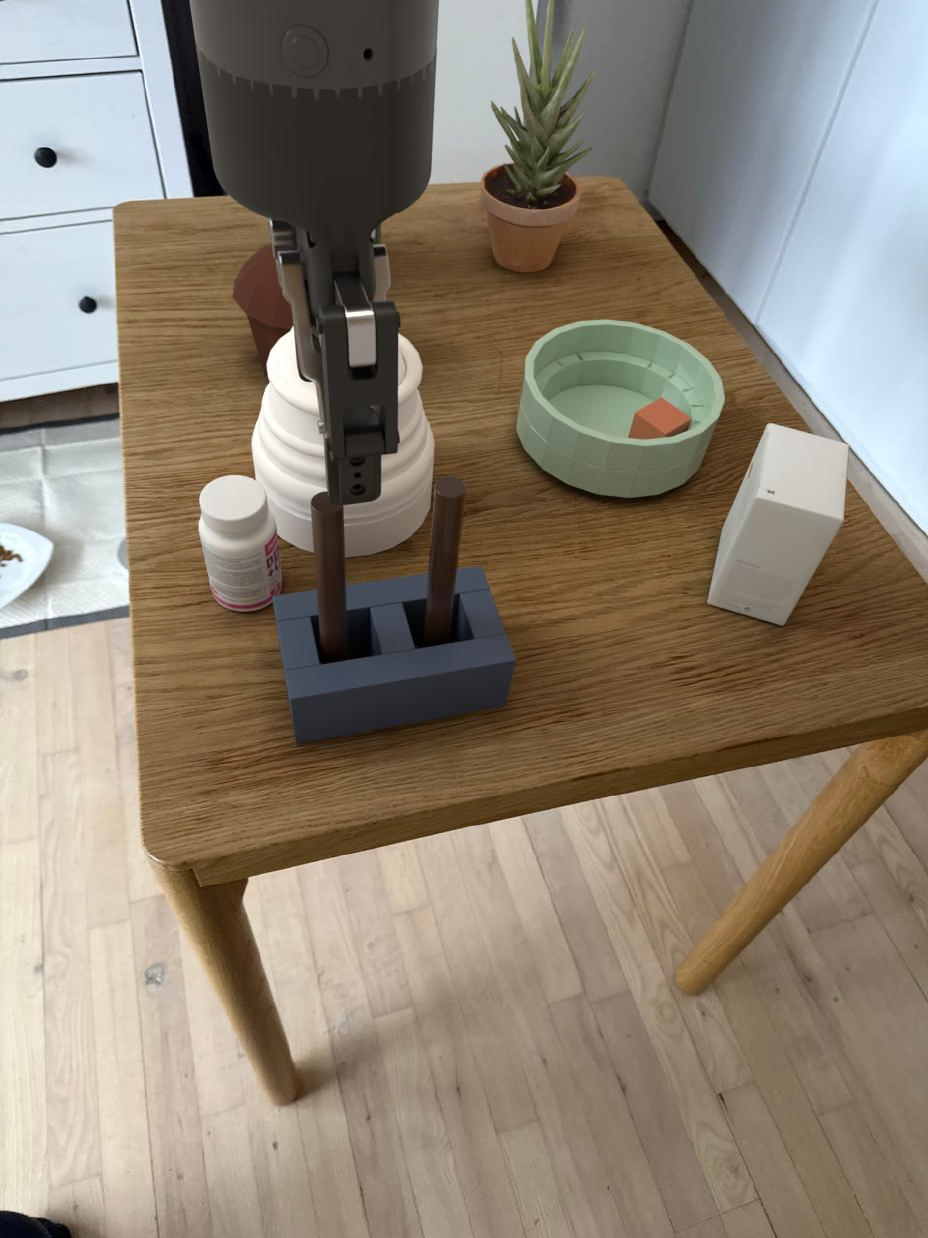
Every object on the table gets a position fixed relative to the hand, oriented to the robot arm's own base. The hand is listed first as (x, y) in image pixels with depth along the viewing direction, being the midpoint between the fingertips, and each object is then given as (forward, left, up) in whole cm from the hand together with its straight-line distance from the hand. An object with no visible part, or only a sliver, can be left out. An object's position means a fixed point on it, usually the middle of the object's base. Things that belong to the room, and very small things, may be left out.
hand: (336, 433), depth 40 cm
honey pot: (-8, -15, -20) cm, 27 cm away
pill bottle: (+2, -10, -20) cm, 23 cm away
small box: (-30, +6, -20) cm, 36 cm away
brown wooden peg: (-5, +2, -20) cm, 21 cm away
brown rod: (+1, 0, -20) cm, 20 cm away
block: (-32, -8, -19) cm, 38 cm away
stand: (-3, +1, -20) cm, 20 cm away
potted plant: (-39, -37, -20) cm, 57 cm away
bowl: (-30, -11, -20) cm, 38 cm away
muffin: (-13, -31, -20) cm, 39 cm away
